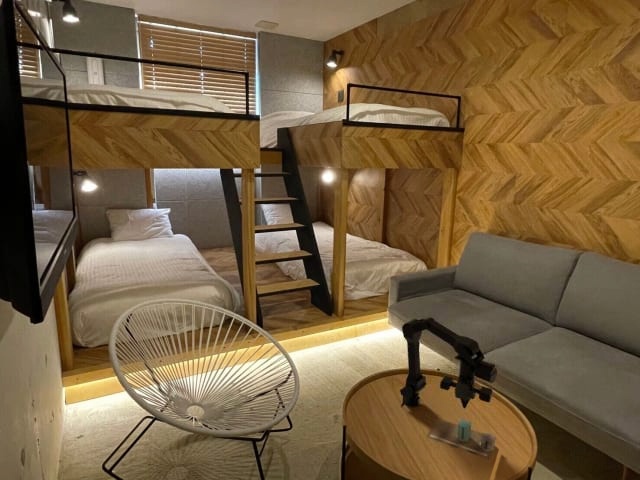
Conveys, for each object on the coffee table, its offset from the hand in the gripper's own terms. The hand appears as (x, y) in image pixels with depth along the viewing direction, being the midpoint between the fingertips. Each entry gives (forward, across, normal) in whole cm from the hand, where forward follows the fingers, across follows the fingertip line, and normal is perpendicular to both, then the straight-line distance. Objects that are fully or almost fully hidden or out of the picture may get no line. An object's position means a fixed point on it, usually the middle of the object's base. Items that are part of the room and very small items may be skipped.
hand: (464, 407), depth 169 cm
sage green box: (+10, +2, -5) cm, 11 cm away
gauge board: (+11, +1, -5) cm, 12 cm away
